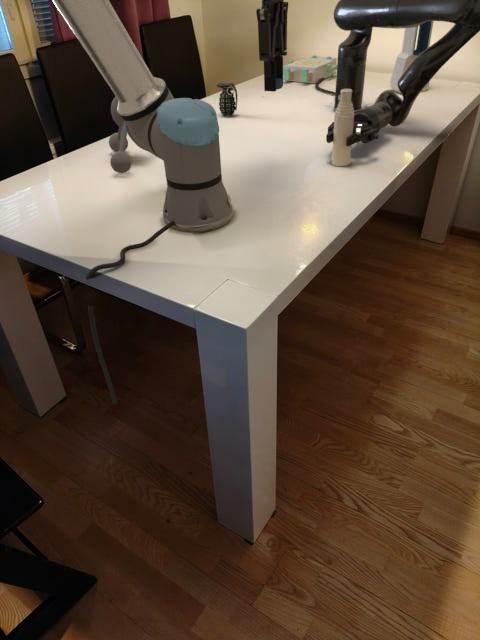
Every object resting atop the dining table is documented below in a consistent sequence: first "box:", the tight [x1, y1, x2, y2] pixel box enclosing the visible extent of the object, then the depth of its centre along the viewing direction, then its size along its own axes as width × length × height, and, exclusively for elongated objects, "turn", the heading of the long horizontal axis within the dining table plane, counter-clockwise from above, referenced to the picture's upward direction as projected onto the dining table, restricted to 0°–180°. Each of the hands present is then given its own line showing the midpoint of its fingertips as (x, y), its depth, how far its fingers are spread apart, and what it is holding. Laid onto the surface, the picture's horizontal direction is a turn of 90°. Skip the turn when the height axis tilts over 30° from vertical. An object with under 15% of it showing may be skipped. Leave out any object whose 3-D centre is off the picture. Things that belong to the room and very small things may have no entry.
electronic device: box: [389, 21, 435, 95], centre depth 175 cm, size 12×8×30 cm, turn 105°
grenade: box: [215, 82, 238, 117], centre depth 166 cm, size 7×6×10 cm
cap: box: [276, 78, 283, 91], centre depth 117 cm, size 4×4×2 cm
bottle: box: [330, 89, 355, 167], centre depth 124 cm, size 5×5×18 cm
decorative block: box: [283, 55, 338, 84], centre depth 207 cm, size 26×6×20 cm
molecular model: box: [108, 96, 133, 174], centre depth 130 cm, size 24×22×30 cm
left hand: (273, 88), depth 118 cm, fingers closed on cap, 4 cm apart
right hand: (337, 140), depth 124 cm, fingers closed on bottle, 5 cm apart
